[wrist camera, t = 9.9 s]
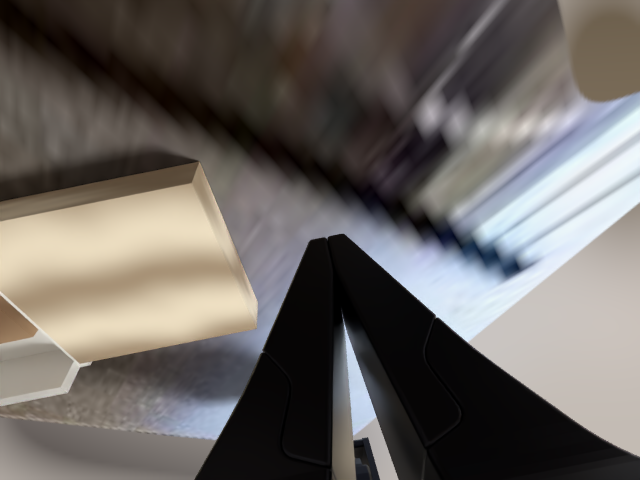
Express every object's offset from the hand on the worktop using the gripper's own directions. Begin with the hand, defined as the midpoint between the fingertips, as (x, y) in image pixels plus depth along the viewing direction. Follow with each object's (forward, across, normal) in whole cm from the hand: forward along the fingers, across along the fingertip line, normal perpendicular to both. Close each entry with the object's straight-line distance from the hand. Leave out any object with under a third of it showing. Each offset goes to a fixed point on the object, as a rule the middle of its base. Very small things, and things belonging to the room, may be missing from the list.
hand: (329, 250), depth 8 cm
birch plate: (+12, +12, +8) cm, 19 cm away
